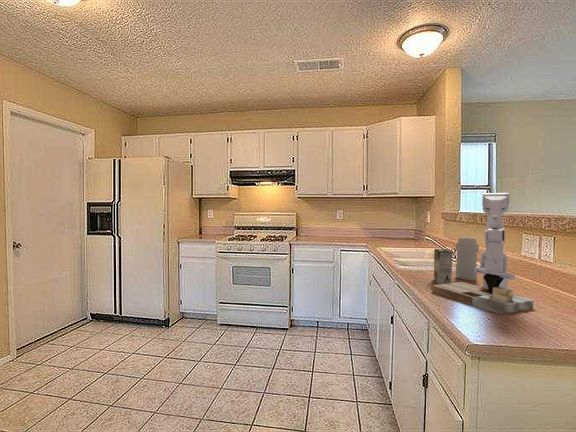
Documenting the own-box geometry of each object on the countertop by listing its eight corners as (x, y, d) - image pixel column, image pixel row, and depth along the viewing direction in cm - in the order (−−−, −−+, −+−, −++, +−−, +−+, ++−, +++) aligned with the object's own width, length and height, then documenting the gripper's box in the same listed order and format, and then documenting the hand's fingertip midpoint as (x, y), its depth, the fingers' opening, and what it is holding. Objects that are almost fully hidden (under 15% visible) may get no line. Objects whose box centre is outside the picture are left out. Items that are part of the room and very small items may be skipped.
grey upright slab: (478, 279, 160) (479, 237, 160) (477, 281, 157) (478, 238, 156) (455, 276, 167) (456, 236, 166) (453, 278, 164) (455, 236, 163)
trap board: (461, 288, 144) (461, 281, 144) (533, 308, 116) (533, 300, 116) (432, 292, 137) (432, 285, 137) (501, 314, 109) (501, 306, 109)
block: (500, 296, 120) (500, 286, 120) (512, 299, 116) (512, 289, 116) (492, 297, 119) (492, 287, 119) (504, 301, 115) (505, 290, 114)
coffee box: (433, 279, 161) (433, 248, 160) (446, 280, 160) (447, 249, 159) (438, 283, 152) (438, 251, 151) (452, 284, 151) (453, 251, 150)
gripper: (469, 257, 126) (468, 290, 126) (506, 263, 112) (505, 300, 113) (481, 256, 128) (480, 288, 129) (519, 262, 115) (517, 298, 116)
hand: (492, 294), depth 121 cm, fingers closed
